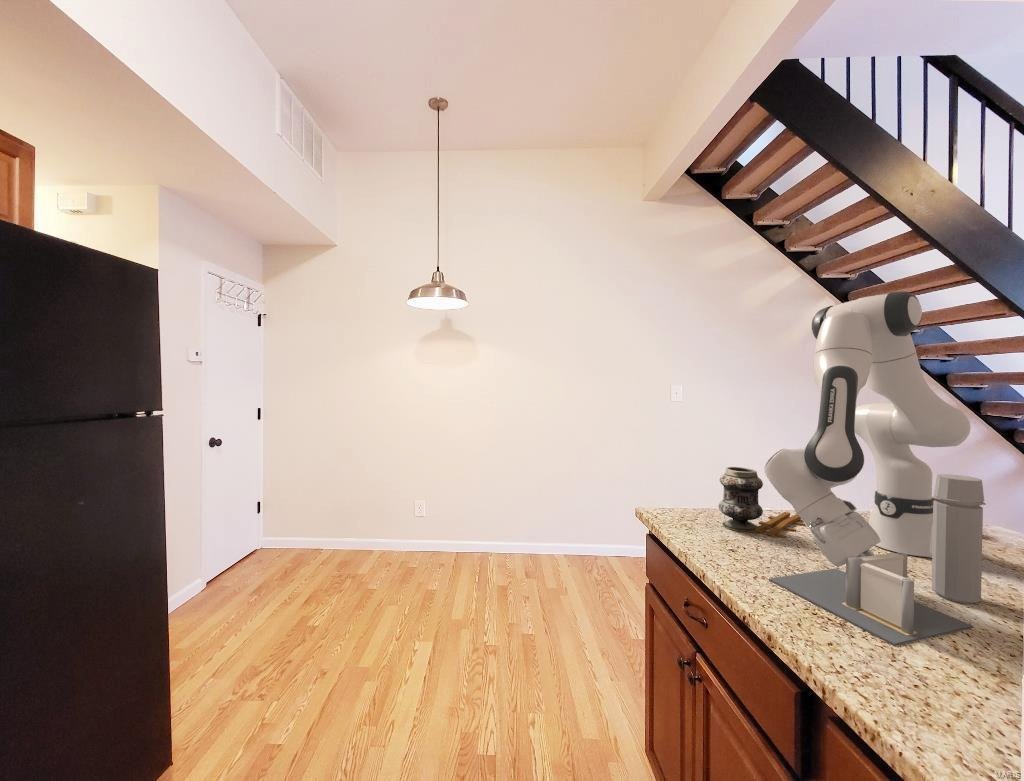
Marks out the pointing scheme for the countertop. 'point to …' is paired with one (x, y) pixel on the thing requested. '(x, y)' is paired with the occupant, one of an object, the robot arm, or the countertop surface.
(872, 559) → the beige rectangular panel
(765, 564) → the countertop surface
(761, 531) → the decorative fence
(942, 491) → the water bottle
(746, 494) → the apothecary jar
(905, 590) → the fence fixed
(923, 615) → the mat
